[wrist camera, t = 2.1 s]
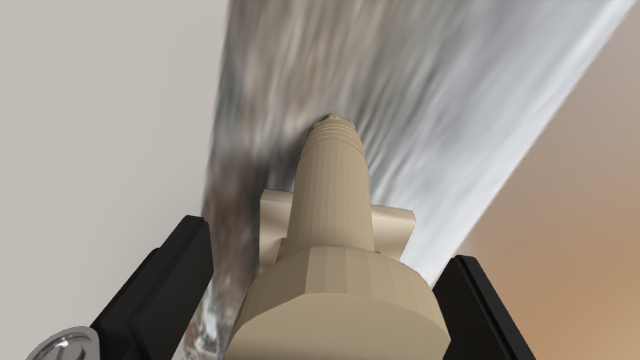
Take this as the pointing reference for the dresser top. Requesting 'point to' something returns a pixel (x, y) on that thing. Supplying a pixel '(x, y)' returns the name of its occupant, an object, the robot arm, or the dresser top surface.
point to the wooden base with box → (274, 219)
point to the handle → (336, 273)
